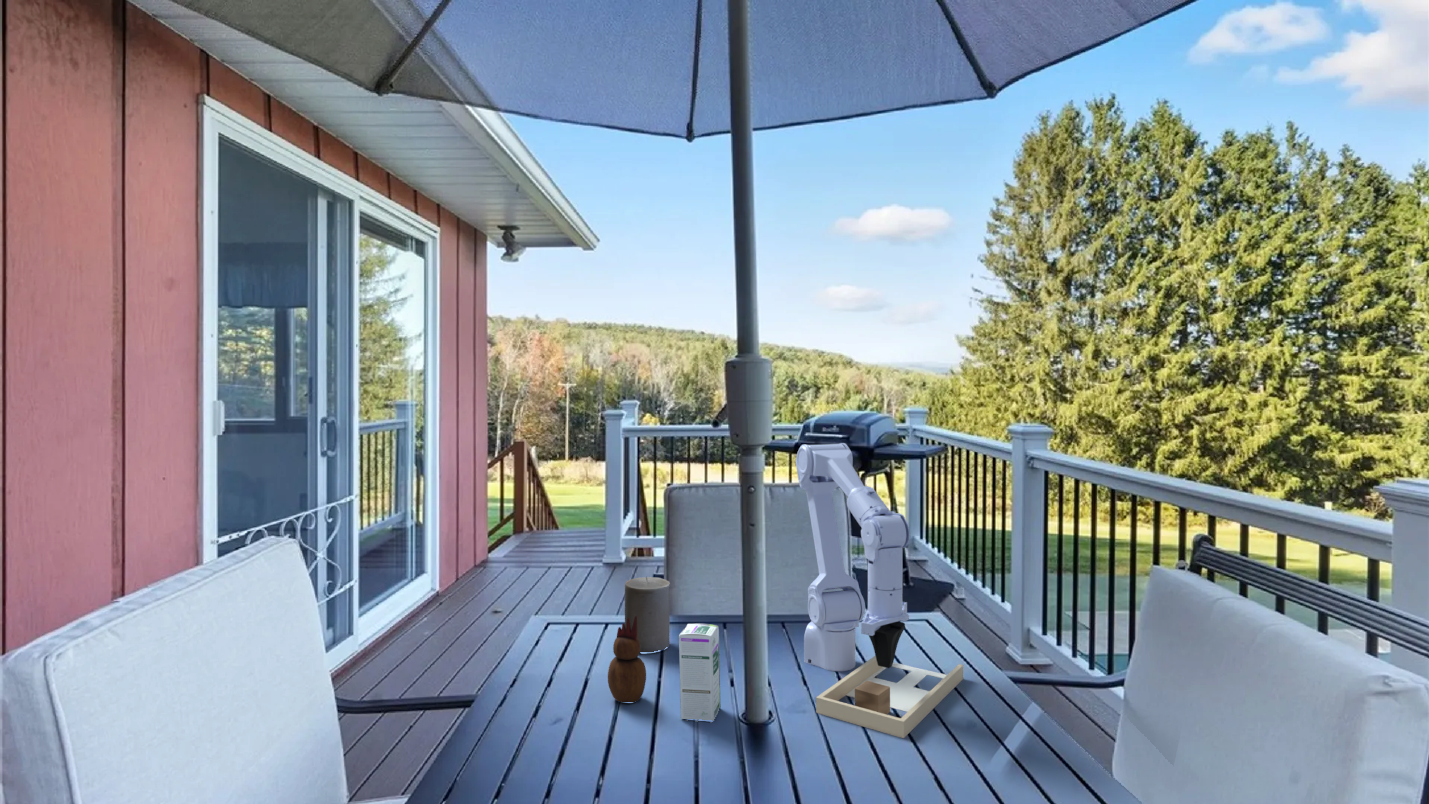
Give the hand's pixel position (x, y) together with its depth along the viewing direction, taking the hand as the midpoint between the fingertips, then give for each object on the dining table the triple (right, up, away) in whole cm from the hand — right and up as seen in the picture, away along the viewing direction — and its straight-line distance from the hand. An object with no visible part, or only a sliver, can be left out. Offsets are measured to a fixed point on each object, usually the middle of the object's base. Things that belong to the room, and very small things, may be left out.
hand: (885, 665), depth 123 cm
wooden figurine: (-44, -8, +5) cm, 45 cm away
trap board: (+2, -8, +3) cm, 8 cm away
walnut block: (-3, -6, -4) cm, 8 cm away
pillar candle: (-43, -8, +32) cm, 54 cm away
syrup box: (-31, -8, -1) cm, 32 cm away
